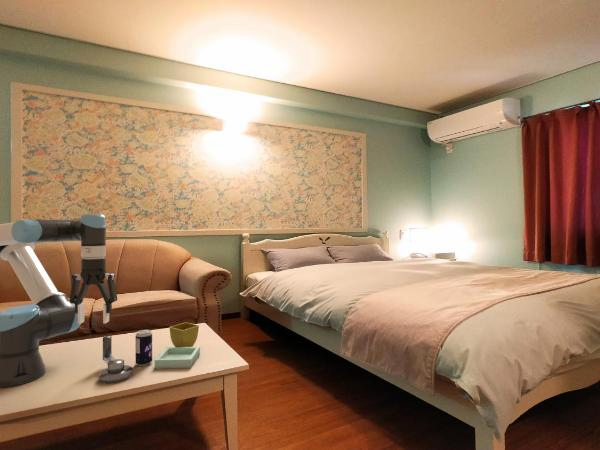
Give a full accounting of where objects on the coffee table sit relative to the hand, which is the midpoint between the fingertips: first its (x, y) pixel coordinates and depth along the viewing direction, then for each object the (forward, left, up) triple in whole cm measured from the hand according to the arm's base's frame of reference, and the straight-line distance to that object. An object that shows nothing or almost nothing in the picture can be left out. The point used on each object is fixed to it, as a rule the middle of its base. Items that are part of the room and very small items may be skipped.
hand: (93, 322), depth 123 cm
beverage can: (+15, +6, -17) cm, 24 cm away
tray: (+27, +8, -17) cm, 33 cm away
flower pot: (+25, +23, -17) cm, 38 cm away
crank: (+7, -1, -15) cm, 17 cm away
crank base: (+10, -5, -17) cm, 21 cm away
